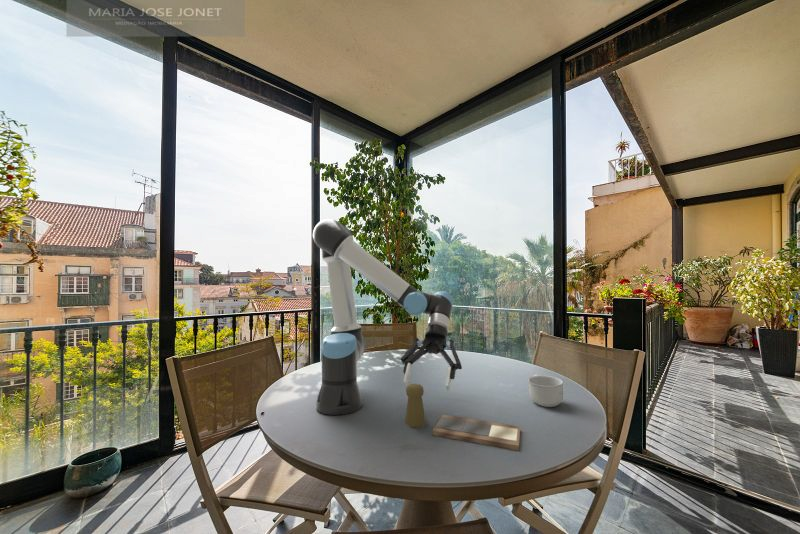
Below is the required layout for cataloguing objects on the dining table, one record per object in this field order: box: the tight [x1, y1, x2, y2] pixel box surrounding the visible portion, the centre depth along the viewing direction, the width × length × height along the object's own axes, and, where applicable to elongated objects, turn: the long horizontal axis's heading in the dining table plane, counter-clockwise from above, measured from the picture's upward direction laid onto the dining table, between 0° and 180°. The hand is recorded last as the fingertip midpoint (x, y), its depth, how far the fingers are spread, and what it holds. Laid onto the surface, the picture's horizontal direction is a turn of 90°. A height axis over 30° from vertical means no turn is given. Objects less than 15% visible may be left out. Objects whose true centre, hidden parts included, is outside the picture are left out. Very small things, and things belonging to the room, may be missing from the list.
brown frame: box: [432, 414, 521, 451], centre depth 88 cm, size 22×11×1 cm, turn 68°
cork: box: [404, 383, 426, 428], centre depth 95 cm, size 6×6×11 cm
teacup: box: [527, 374, 564, 408], centre depth 109 cm, size 14×11×8 cm
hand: (425, 385), depth 99 cm, fingers open, 13 cm apart
